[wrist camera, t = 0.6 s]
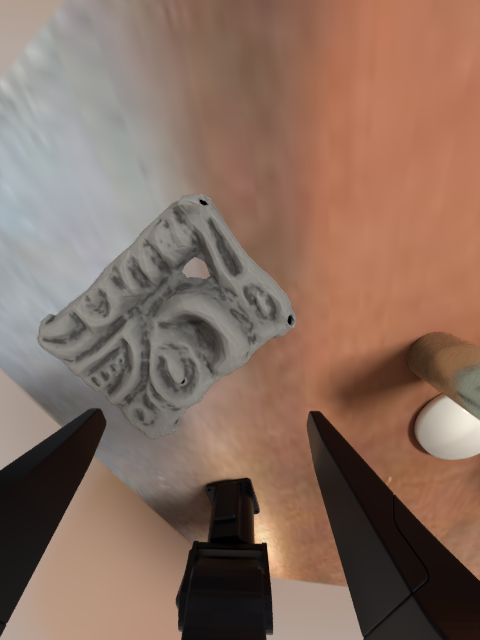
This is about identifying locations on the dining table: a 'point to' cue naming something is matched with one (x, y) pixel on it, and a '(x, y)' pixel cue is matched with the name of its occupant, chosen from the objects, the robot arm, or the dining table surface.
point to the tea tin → (449, 368)
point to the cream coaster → (447, 430)
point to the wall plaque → (169, 318)
